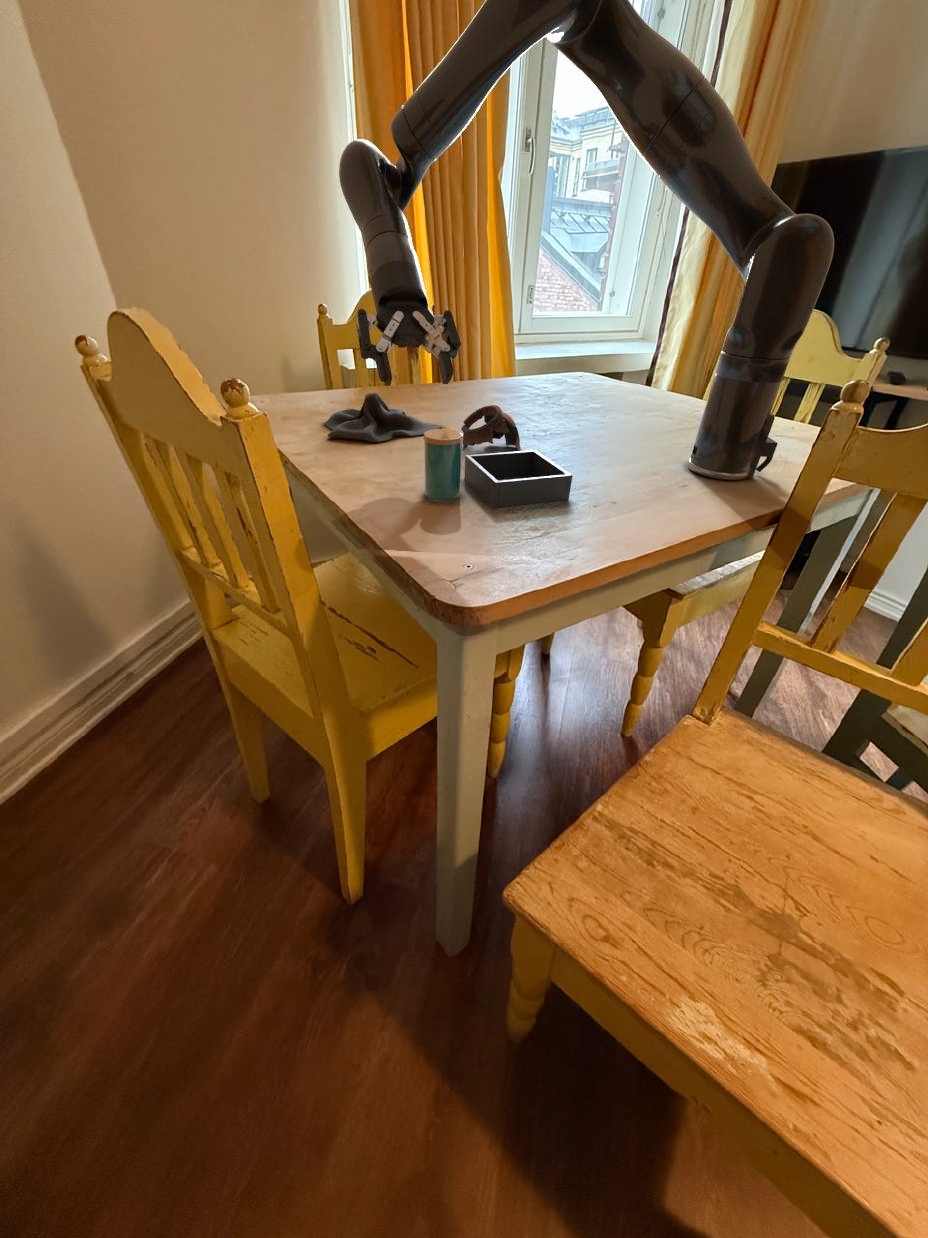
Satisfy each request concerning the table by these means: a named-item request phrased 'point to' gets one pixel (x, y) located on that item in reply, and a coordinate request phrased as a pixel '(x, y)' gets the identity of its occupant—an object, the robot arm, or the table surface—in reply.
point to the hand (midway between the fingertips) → (418, 381)
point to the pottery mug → (490, 427)
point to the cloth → (375, 422)
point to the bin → (517, 478)
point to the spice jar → (442, 464)
